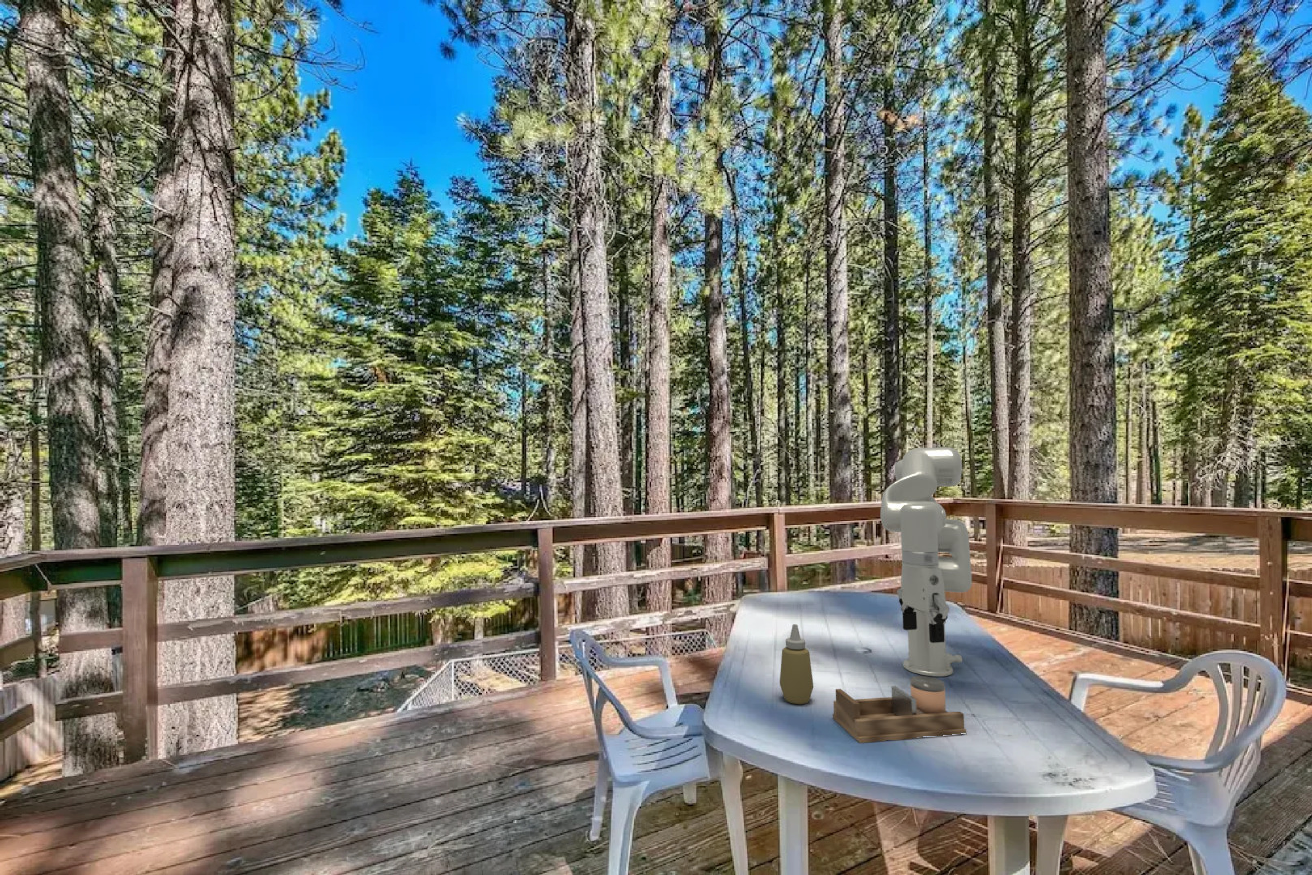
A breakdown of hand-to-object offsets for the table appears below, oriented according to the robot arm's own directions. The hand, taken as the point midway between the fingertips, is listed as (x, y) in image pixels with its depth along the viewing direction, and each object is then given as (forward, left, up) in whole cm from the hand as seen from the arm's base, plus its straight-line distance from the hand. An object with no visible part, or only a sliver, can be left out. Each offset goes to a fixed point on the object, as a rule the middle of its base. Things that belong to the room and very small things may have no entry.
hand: (923, 635), depth 125 cm
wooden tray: (+7, +1, -19) cm, 20 cm away
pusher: (+5, +1, -17) cm, 18 cm away
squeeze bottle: (+24, -16, -19) cm, 34 cm away
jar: (0, +1, -18) cm, 18 cm away
